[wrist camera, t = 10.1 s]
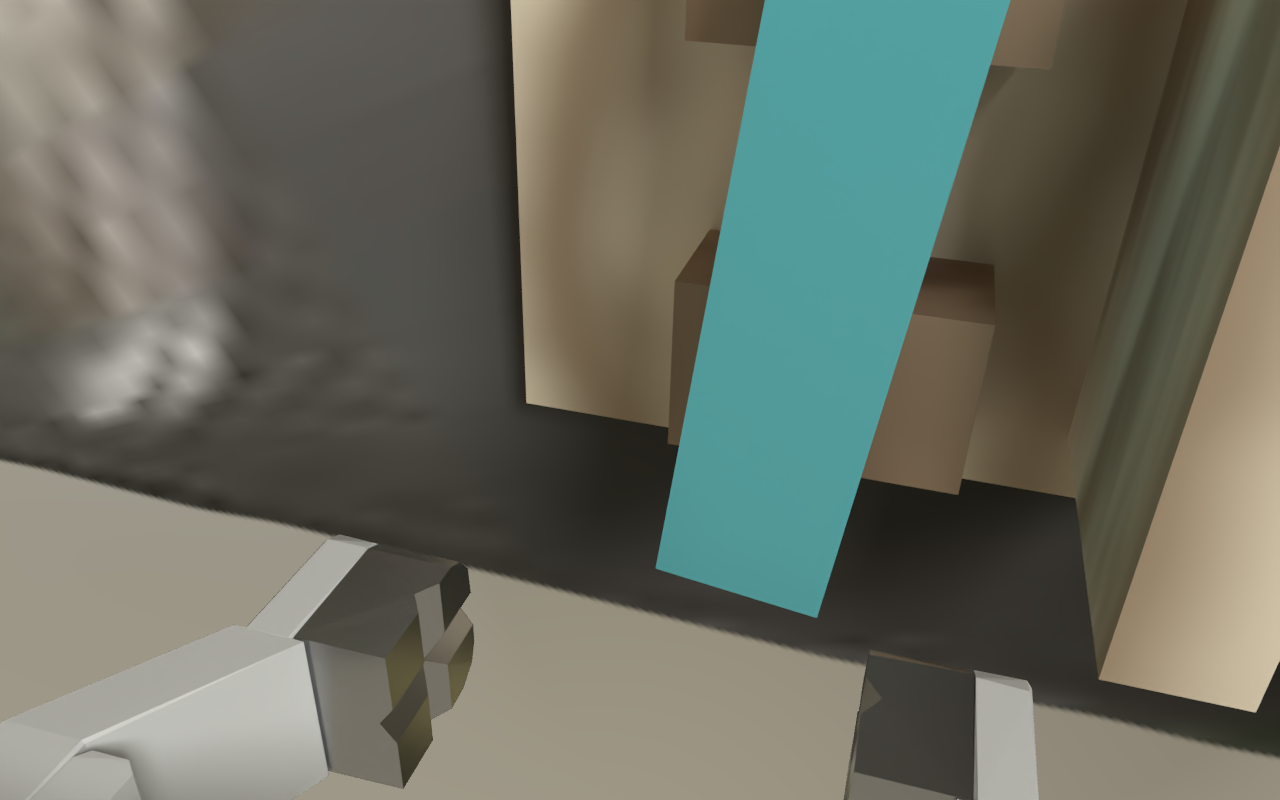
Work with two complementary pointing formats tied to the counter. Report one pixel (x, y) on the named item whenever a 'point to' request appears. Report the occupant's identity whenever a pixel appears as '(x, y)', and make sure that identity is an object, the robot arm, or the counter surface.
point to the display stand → (975, 285)
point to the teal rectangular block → (817, 279)
